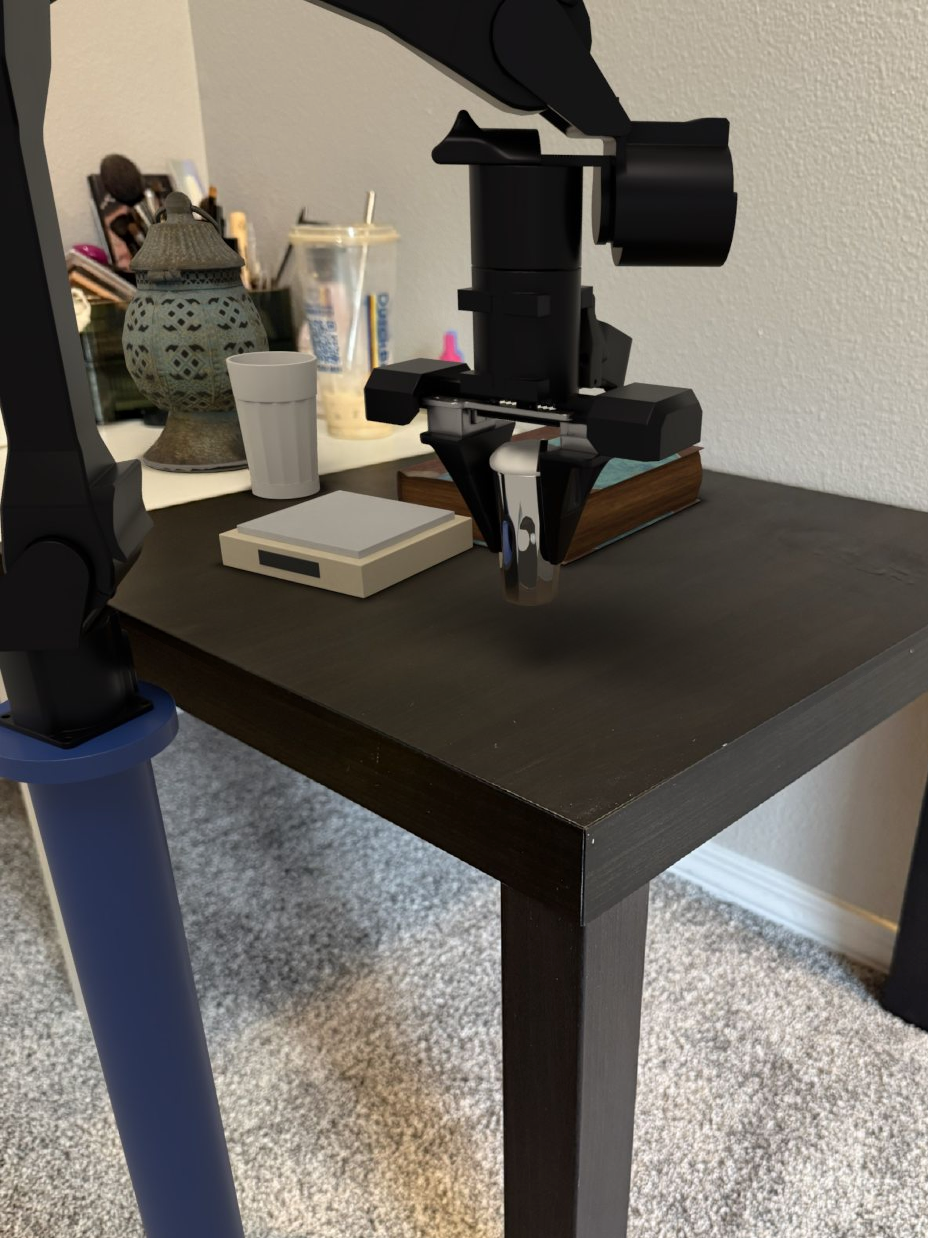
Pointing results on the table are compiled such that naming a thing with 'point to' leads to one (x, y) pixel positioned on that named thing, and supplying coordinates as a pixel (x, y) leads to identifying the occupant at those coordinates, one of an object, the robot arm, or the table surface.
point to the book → (613, 505)
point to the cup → (278, 420)
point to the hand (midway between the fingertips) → (527, 557)
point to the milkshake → (522, 524)
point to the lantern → (190, 338)
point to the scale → (347, 542)
